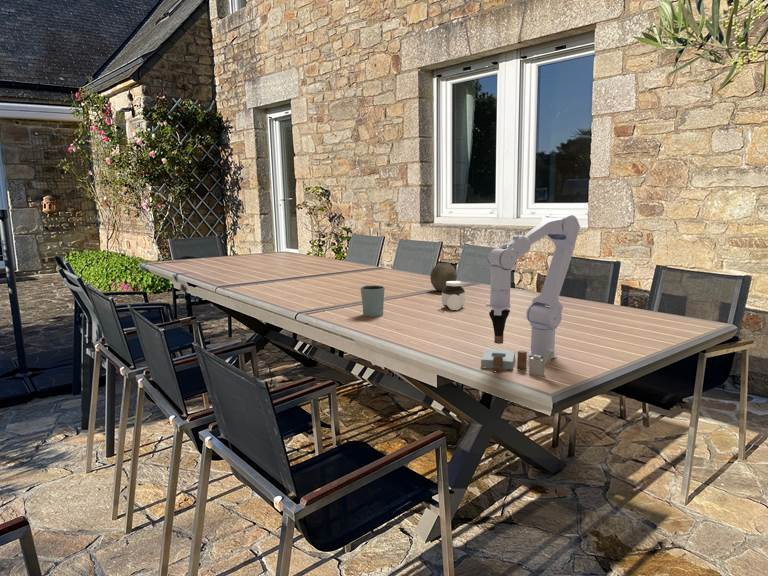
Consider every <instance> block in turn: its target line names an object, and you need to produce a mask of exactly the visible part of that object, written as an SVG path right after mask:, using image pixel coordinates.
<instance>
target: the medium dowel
mask: <svg viewBox="0 0 768 576" xmlns="http://www.w3.org/2000/svg"><path fill="white" fill-rule="evenodd" d="M527 358H528V351H525V350H518V351H517V358H516V359H517V361H516V363H517V364H516V369H517V370H518V369H520V370H519V371H526V370H527V364H528V363H527V362H528V359H527Z"/></svg>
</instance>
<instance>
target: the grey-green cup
mask: <svg viewBox="0 0 768 576" xmlns="http://www.w3.org/2000/svg"><path fill="white" fill-rule="evenodd" d="M385 289H386V287H385V286H383V285H376V284H375V285H373V284H372V285H364V286H361V287H360V295H361V303H362V304H361V305H362V314H363V316H364V317H366V316H369V317H368V318H377V317H376V316H379V317H383V316H384V307H385V306H384V304H385Z"/></svg>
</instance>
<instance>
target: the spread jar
mask: <svg viewBox="0 0 768 576" xmlns="http://www.w3.org/2000/svg"><path fill="white" fill-rule="evenodd" d="M465 302H466V292H465V289H464V288H463V287H462V281H459V280H456V281H447V282H446V287H445V288H444V289H443V291H441V304H442V305H443V307H444V308H445V309H448V308H449V309H450V310H451V311H453V310H456V311H458V310H460V309H461V308H463V307H464V305H465Z"/></svg>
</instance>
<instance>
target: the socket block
mask: <svg viewBox="0 0 768 576" xmlns="http://www.w3.org/2000/svg"><path fill="white" fill-rule="evenodd" d="M495 356H500V357H503V366H502V370H505V369H512V370H511V371H513V370H514V366H515V361H516V350H508V349H506V350H505V349H494V348H492V349H491V348H485V349H484V351H483V354H482V356H481V359H480V368H481V367H488V368H487V369H492V368H493V357H495ZM513 365H514V366H513Z"/></svg>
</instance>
